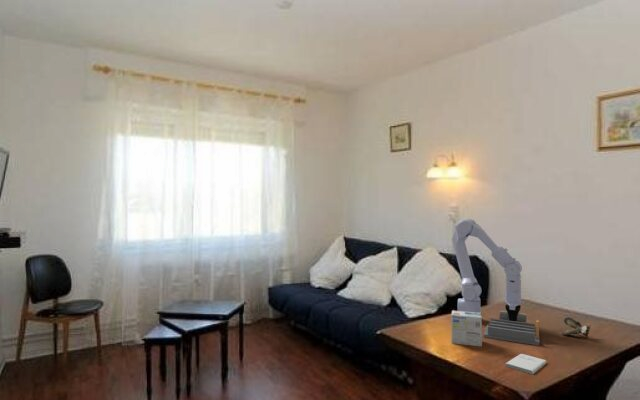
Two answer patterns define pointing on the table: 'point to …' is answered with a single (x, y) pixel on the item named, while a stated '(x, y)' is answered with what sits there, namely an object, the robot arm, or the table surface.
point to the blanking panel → (520, 317)
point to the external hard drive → (526, 363)
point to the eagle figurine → (576, 325)
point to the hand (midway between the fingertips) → (512, 323)
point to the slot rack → (513, 331)
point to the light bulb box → (466, 328)
